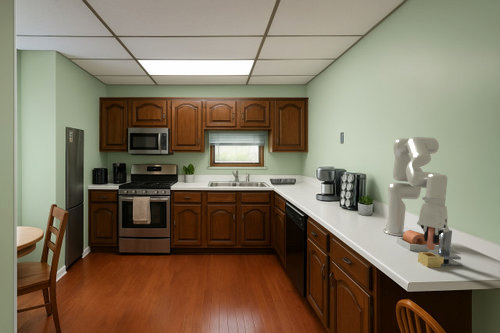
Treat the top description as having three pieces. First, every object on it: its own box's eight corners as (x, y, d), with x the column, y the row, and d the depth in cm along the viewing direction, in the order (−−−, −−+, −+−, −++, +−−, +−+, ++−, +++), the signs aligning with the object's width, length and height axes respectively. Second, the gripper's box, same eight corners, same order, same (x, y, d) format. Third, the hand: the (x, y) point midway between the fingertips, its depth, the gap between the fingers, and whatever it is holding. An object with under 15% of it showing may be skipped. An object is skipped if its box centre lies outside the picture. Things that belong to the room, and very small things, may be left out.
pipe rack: (396, 242, 156) (396, 237, 155) (436, 244, 157) (437, 238, 157) (409, 250, 144) (410, 244, 144) (453, 251, 146) (453, 246, 146)
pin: (425, 247, 127) (427, 226, 126) (428, 247, 128) (430, 225, 128) (432, 250, 124) (434, 228, 124) (435, 249, 126) (437, 227, 125)
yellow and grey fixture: (409, 256, 136) (412, 226, 135) (445, 257, 137) (448, 227, 136) (427, 267, 124) (430, 233, 123) (465, 268, 125) (469, 235, 124)
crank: (411, 249, 147) (412, 234, 147) (402, 243, 155) (403, 229, 155) (447, 250, 149) (448, 235, 148) (436, 244, 156) (437, 231, 156)
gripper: (411, 198, 130) (408, 237, 131) (451, 205, 116) (447, 249, 117) (420, 198, 134) (417, 235, 135) (460, 204, 120) (455, 246, 121)
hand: (431, 241), depth 126 cm, fingers closed on pin, 3 cm apart
